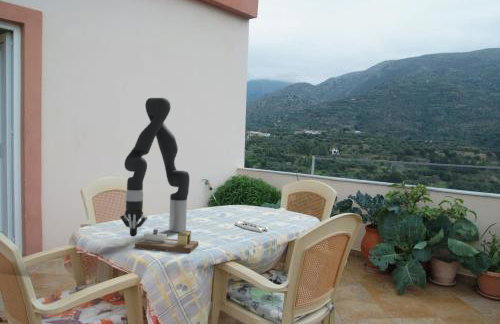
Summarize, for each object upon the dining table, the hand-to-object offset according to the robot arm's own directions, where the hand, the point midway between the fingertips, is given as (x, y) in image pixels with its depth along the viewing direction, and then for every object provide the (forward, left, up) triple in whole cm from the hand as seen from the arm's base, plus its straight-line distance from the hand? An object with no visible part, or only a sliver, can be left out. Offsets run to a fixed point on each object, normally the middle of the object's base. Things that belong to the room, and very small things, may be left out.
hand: (133, 236), depth 164 cm
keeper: (0, +25, -2) cm, 25 cm away
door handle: (-52, +48, -4) cm, 71 cm away
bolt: (0, +11, -1) cm, 11 cm away
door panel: (0, +17, -4) cm, 17 cm away
